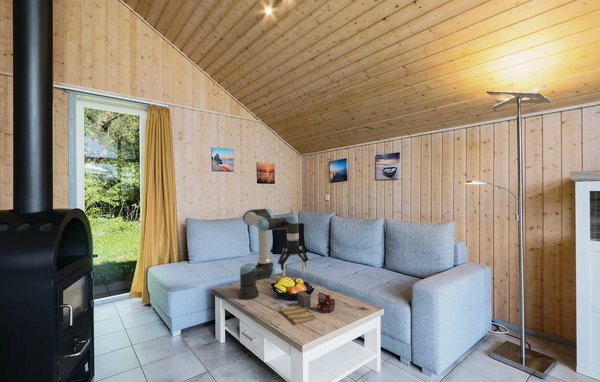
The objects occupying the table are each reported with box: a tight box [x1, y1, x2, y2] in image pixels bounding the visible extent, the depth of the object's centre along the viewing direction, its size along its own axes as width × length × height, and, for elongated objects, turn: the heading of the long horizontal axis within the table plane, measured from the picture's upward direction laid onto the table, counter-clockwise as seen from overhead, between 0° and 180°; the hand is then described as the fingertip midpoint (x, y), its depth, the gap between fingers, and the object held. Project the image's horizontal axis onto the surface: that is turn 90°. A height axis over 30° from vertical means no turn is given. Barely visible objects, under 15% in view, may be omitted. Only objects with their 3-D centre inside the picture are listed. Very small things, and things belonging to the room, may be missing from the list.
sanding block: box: [297, 291, 311, 310], centre depth 197 cm, size 9×5×8 cm, turn 28°
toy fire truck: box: [316, 291, 335, 313], centre depth 190 cm, size 7×12×10 cm, turn 43°
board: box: [280, 304, 316, 326], centre depth 183 cm, size 22×13×2 cm, turn 28°
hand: (293, 273), depth 183 cm, fingers open, 13 cm apart
